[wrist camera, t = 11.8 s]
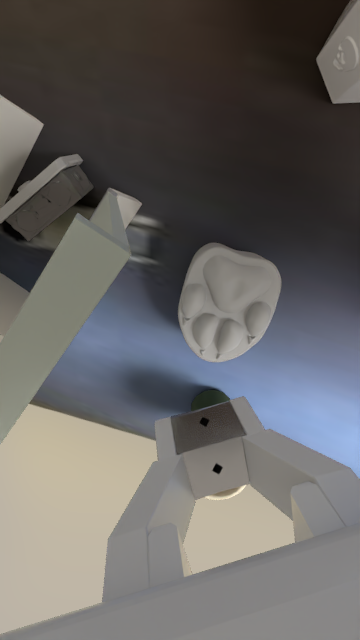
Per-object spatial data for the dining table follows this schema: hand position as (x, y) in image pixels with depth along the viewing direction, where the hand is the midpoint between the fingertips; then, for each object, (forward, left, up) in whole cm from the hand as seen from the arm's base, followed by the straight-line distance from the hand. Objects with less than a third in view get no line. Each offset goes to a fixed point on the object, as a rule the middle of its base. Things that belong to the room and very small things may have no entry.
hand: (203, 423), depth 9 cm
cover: (+10, +8, -10) cm, 16 cm away
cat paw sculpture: (-4, +1, -30) cm, 30 cm away
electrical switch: (+19, +3, -30) cm, 35 cm away
